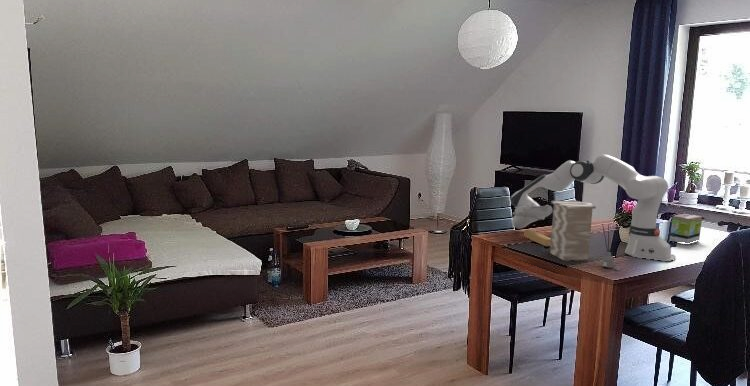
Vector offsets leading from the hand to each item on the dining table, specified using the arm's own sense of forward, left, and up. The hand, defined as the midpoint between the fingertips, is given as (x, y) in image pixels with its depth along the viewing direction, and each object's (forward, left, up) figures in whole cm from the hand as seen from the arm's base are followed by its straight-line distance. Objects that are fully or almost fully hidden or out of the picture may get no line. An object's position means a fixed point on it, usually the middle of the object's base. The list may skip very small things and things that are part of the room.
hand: (539, 206), depth 298 cm
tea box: (-61, -56, -19) cm, 85 cm away
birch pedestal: (-25, +21, -19) cm, 37 cm away
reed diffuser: (-46, +27, -19) cm, 56 cm away
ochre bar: (-1, +1, -19) cm, 19 cm away
